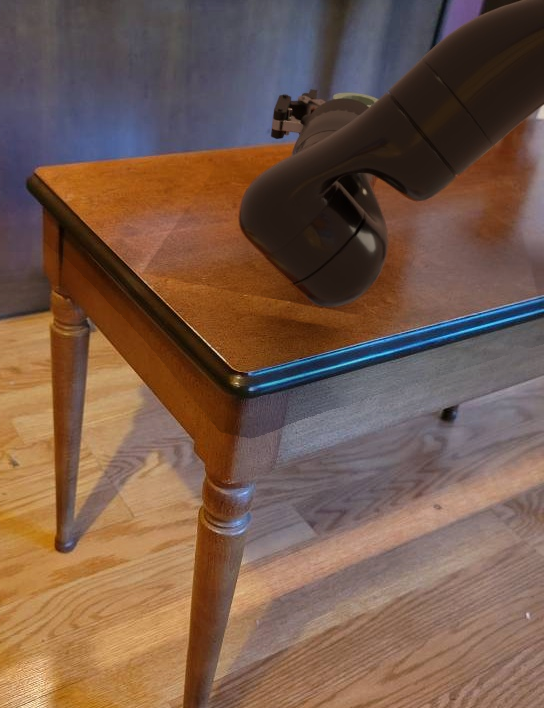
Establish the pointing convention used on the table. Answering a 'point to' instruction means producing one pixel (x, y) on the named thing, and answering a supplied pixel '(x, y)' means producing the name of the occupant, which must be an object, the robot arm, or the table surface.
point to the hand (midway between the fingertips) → (353, 106)
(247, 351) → the table surface
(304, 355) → the table surface
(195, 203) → the table surface
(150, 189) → the table surface
